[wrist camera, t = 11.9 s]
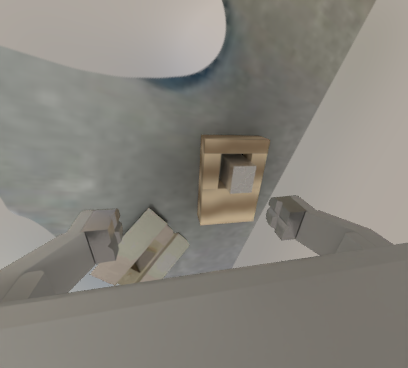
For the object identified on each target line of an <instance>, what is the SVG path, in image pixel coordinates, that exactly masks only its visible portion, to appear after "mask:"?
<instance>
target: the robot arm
mask: <svg viewBox="0 0 408 368" xmlns="http://www.w3.org/2000/svg"><path fill="white" fill-rule="evenodd" d="M269 205H270V208H269V209H268V210H267V213H266V219H267V222H268V224H269V225H270V226H271V227H273V228H274V229H275V233H276V234H277V235H278V237H279V238H280V239H281V240H290V239H296V240H297V241H298V242H300V243H301V244H303V245H304V246H306V247H308V248H309V249H311V250H313V251H314V252H315V253H317V254H318V255H320V256H315V257H309V258H302V259H295V260H288V261H281V262H274V263H267V264H260V265H254V266H247V267H240V268H233V269H226V270H220V271H213V272H206V273H199V274H193V275H186V276H179V277H172V278H166V279H159V280H152V281H145V282H138V283H132V284H125V285H118V286H111V287H104V288H98V289H91V290H84V291H77V292H71V293H68V292H69V291H70V290H71V289H72V288H73V287H74V286H75V285H76V284H77V283H78V282H79V281H80V280H81V279H82V278H83V277H84V276H85V275H86V274H87V273H88V272H89V271H90V270H91V269H92V267H93V266H94V265H95V264H97V263H103V262H110V261H116V258H117V255H118V251H119V246H118V244H119V243H121V241H122V236H123V227H122V223H121V222H120V221H119V218H120V213H119V210H118V209H117V208H116V209H97V210H84V211H81V213H80V214H79V215H78V217H77V218H76V220H75V221H74V223H73V224H72V225H71V227H70V228H69V230H68V231H67V233H66V234H61V235H59V236H57V237H56V238H54V239H52V240H51V241H49V242H47V243H45V244H44V245H42V246H40V247H39V248H37V249H35V250H34V251H32V252H30V253H28V254H27V255H25V256H23V257H22V258H20V259H18V260H16V261H15V262H13V263H11V264H10V265H8V266H6V267H4V268H3V269H1V270H0V368H408V243H403V244H396V245H393V244H392V243H390V242H389V241H388V240H386V239H384V238H383V237H382V236H380V235H379V234H377V233H375V232H374V231H373V230H371V229H369V228H366V227H363V226H360V225H358V224H355V223H352V222H350V221H347V220H344V219H341V218H339V217H336V216H333V215H330V214H327V213H325V212H322V211H319V210H318V211H317V210H315V209H314V208H313V207H312V206H310V205H309V204H308V203H306V202H305V201H304V200H303V199H301V198H300V197H299V196H296V195H293V196H285V197H273V198H271V199H270V201H269Z"/></svg>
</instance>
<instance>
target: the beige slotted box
mask: <svg viewBox="0 0 408 368" xmlns="http://www.w3.org/2000/svg"><path fill="white" fill-rule="evenodd" d="M118 246H119V251H118V255H117V258H116V261H110V262H103V263H99V264H98V266H97V267H96V268H95V269H94V271H92V273H91V274H90V275H92V276H94V277H96V278H99V279H101V280H103V281H106V282H107V283H110V284H113V285H116V284H117V283H118V284H121V285H125V284H132V283H138V282H145V281H152V280H159V279H163V278H164V277H165V275H166V274H167V273H168V272H169V270H170V269H171V268H172V267H173V265H174V264H175V263H176V262H177V261H178V259H179V258H180V257H181V255H182V254H183V253H184V252H185V250H186V249H187V248H188V247H189V246H190V245H189V244H188V241H187V240H186V239H184V237H183V236H181V235H180V234H179V233H173V230H172V229H171V228H170V227H168V226H167V223H166V222H165V221H164V220H162V219H161V218H160V217H159V216H158V215H156V214H155V213H154V212H153V211H152V210H151V209H150V208H148V209H147V211H146V212H144V213H143V215H142V216H141V217H140V219H138V220H137V222H135V224H134V225H133V226H132V227H131V228H130V230H129V231H128V232H127V233H126V234H125V235H124V236H123V237H122V241H121V243H119V244H118Z"/></svg>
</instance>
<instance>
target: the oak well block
mask: <svg viewBox="0 0 408 368" xmlns="http://www.w3.org/2000/svg"><path fill="white" fill-rule="evenodd" d="M269 144H270V140H269V139H266V138H264V137H261V136H241V135H201V150H200V171H199V192H198V213H197V215H198V218H199V222H200V225H211V224H223V223H235V222H248V221H253V219H254V215H255V210H256V205H257V201H258V196H259V191H260V186H261V182H262V177H263V172H264V168H265V163H266V158H267V153H268V149H269ZM221 154H243V156H244V157H245V158H247V159H248V160H249V161H251V162H252V163H253V164H255V165H256V172H255V177H254V182H253V187H252V192H251V193H234V194H230V193H229V191H228V190H227V188H226V187H225V185H224V184H223V182H222V181H221V180H219V171H220V161H221Z"/></svg>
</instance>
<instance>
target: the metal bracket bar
mask: <svg viewBox="0 0 408 368" xmlns="http://www.w3.org/2000/svg"><path fill="white" fill-rule="evenodd" d="M255 172H256V165H255V164H253V163H252V162H251V161H249V160H248V159H247V158H245V157H244V156H243V155H241V154H221V161H220V171H219V178H220V180H221V181H222V182H223V184H224V185H225V187H226V188H227V190H228V191H229V193H230V194H234V193H251V192H252V187H253V182H254V177H255Z"/></svg>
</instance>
